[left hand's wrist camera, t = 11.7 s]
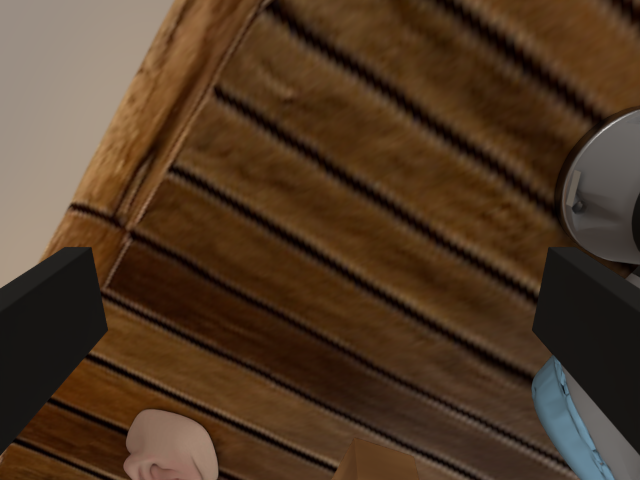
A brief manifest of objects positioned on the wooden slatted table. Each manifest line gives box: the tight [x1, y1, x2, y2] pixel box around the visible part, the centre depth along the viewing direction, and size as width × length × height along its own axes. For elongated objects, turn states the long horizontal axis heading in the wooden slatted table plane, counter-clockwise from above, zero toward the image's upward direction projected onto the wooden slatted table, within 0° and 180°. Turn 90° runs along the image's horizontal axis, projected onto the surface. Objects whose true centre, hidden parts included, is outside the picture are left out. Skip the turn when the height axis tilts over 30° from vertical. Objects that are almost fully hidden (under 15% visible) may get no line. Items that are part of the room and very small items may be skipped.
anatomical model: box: [124, 409, 218, 480], centre depth 52 cm, size 13×4×12 cm
